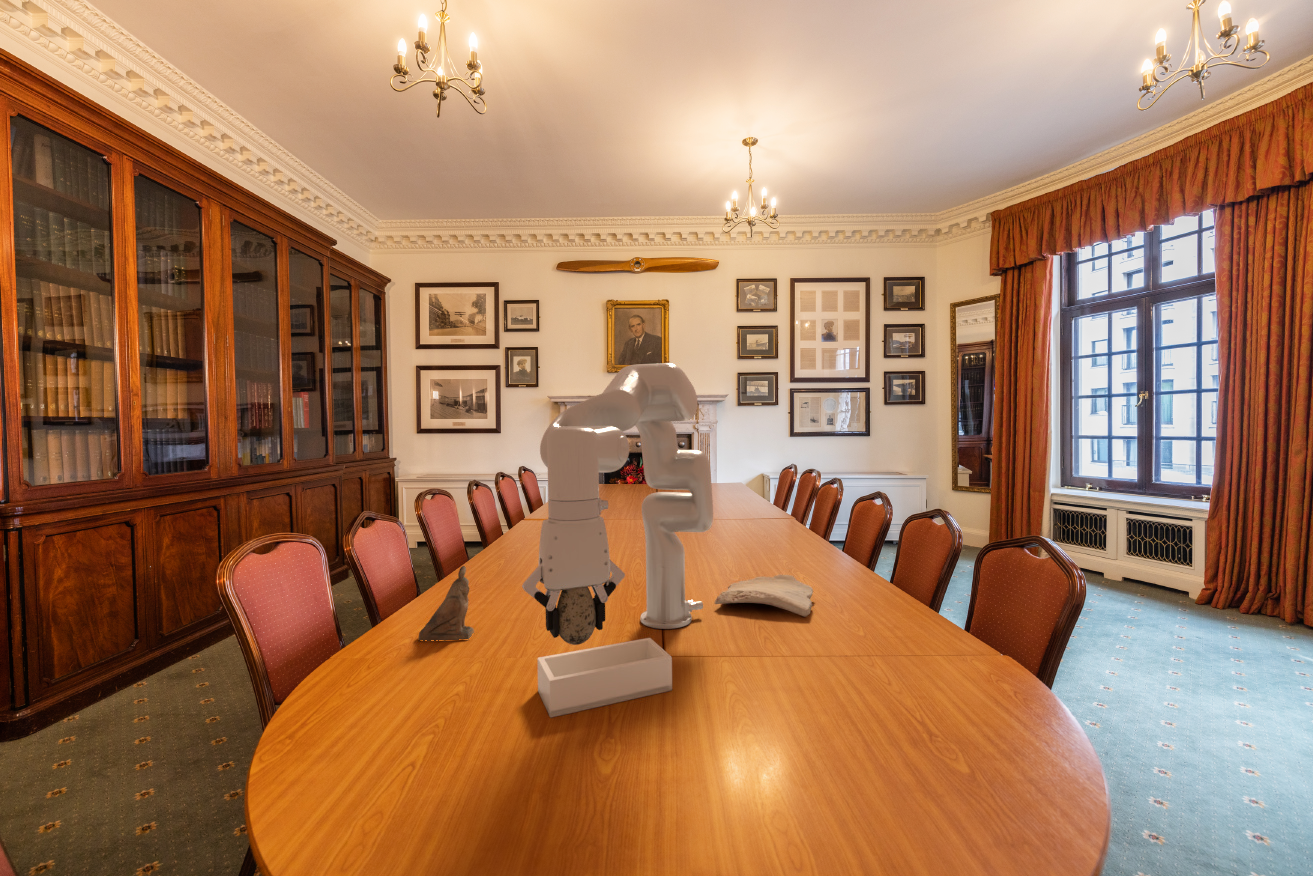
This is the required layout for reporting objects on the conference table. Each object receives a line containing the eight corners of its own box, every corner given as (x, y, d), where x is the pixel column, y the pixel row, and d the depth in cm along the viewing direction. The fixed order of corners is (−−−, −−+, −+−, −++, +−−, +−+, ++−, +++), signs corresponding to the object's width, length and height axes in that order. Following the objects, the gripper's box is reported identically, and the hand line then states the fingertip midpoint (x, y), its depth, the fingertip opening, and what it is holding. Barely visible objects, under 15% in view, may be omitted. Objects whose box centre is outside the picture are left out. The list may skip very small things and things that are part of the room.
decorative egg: (597, 635, 83) (596, 571, 83) (594, 651, 77) (593, 582, 77) (559, 636, 83) (558, 572, 83) (553, 652, 77) (551, 583, 77)
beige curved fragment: (730, 593, 157) (712, 608, 139) (731, 567, 158) (713, 578, 139) (816, 605, 148) (809, 622, 130) (817, 578, 149) (810, 591, 130)
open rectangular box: (650, 668, 105) (649, 637, 105) (672, 690, 96) (671, 656, 96) (538, 691, 96) (537, 657, 96) (550, 717, 87) (549, 681, 87)
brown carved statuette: (474, 644, 125) (489, 568, 125) (464, 653, 120) (480, 574, 120) (425, 632, 126) (441, 557, 126) (414, 641, 120) (430, 563, 120)
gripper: (620, 503, 86) (621, 614, 87) (510, 511, 79) (513, 631, 80) (637, 509, 80) (639, 629, 80) (519, 518, 73) (521, 650, 73)
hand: (576, 629), depth 80 cm, fingers closed on decorative egg, 6 cm apart
